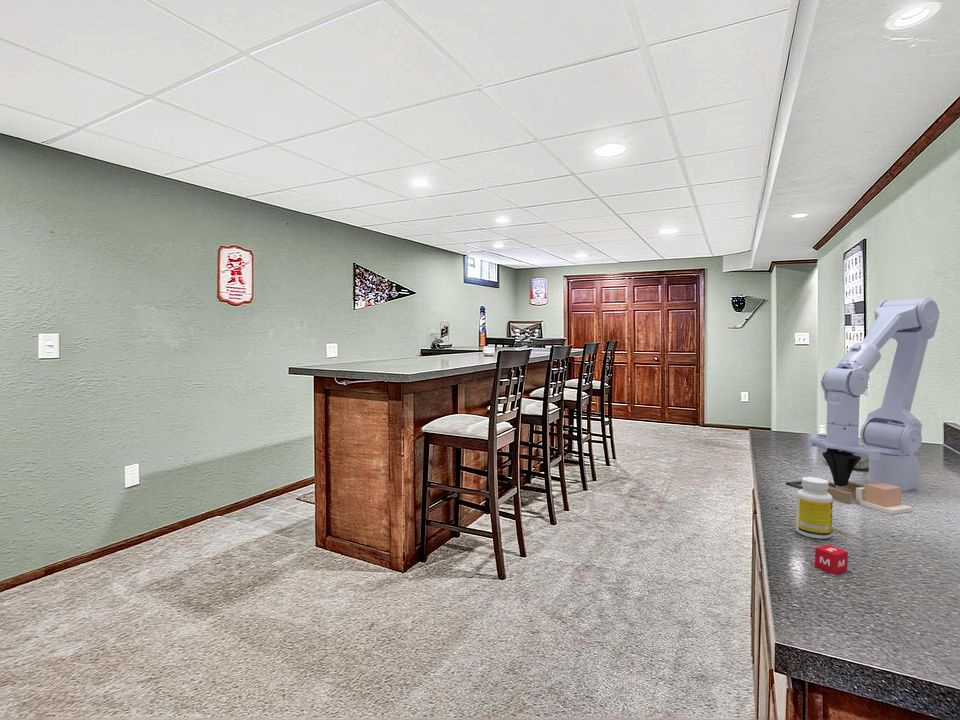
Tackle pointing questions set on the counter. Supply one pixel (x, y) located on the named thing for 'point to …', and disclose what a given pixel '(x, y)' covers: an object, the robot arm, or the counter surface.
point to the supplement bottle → (814, 509)
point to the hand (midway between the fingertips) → (840, 485)
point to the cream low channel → (889, 510)
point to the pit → (798, 483)
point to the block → (882, 494)
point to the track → (844, 492)
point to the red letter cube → (831, 559)
